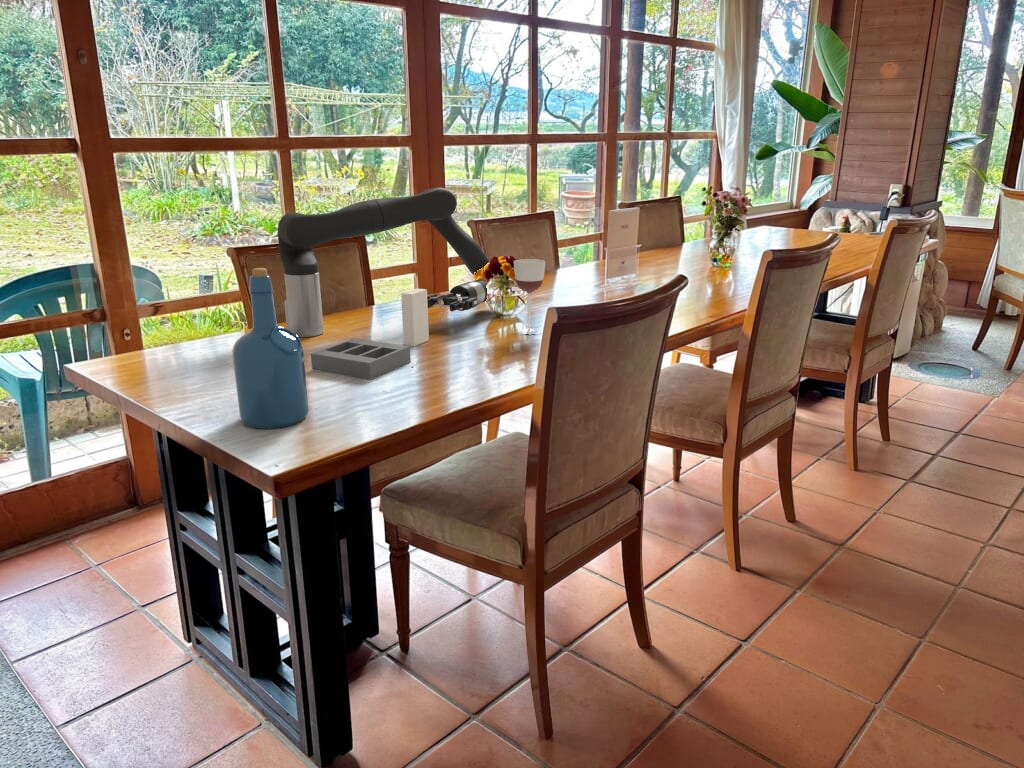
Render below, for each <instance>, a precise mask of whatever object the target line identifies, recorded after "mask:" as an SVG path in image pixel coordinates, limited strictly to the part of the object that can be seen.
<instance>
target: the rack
mask: <svg viewBox="0 0 1024 768" xmlns="http://www.w3.org/2000/svg"><path fill="white" fill-rule="evenodd" d="M310 360H311V370H312V369H313V371H317V370H318V371H319V372H324V373H329V374H336V375H341V376H348V377H353V378H359V379H364V380H370V381H371V380H373V379H376V378H378V377H380V376H383V375H385V374H387V373H389V372H392V371H394V370H395V369H398V368H400V367H403V366H405V365H407V364H410V363H411V361H412V360H411V346H408V345H404V344H403V345H401V344H395V343H390V342H389V343H388V342H383V341H374V340H368V339H361V338H354V337H353V338H351V339H350V338H349V339H347V340H345V341H342V342H338V343H336V344H333V345H331V346H328V347H325V348H322V349H320V350H317V351H313V352H312V353H310Z"/></svg>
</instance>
